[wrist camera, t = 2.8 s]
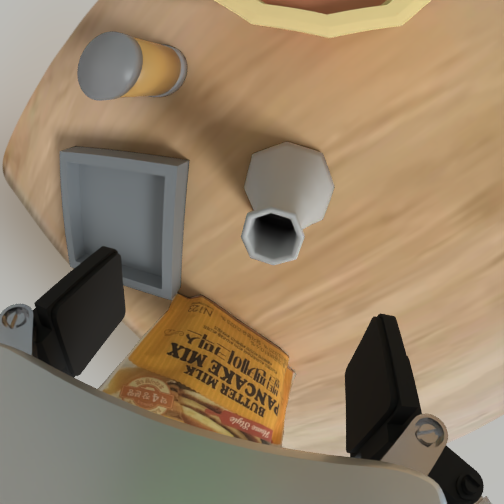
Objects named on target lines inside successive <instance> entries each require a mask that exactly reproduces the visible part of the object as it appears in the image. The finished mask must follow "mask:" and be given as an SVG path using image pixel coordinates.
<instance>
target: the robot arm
mask: <svg viewBox="0 0 504 504" xmlns="http://www.w3.org/2000/svg"><path fill="white" fill-rule="evenodd" d="M35 306H36V308H35V309H34V310H31V308H30V307H29V306H27V305H25V304H15V305H11V306H9V307H7V308H6V309H5V310H3V311H2V313H1V314H0V504H491V502H490V501H489V499H488V498H487V496H486V497H484V498H483V497H482V496H481V495H482V492H483V481H482V478H481V476H480V475H479V473H478V472H477V471H476V470H474V469H473V468H472V467H471V466H470V465H468V464H467V463H466V462H465V461H464V460H463V459H461V458H460V457H459V456H458V455H457V454H455V453H454V452H453V451H452V450H451V449H450V448H448V447H447V446H446V443H447V440H448V432H447V429H446V427H445V425H444V423H443V422H442V421H441V420H440V419H439V418H437V417H436V416H434V415H431V414H422V412H421V407H420V403H419V398H418V394H417V389H416V385H415V381H414V377H413V373H412V369H411V365H410V361H409V358H408V356H406V352H405V348H404V345H403V341H402V337H401V334H400V330H399V327H398V324H397V320H396V318H395V317H394V316H390V315H385V314H379V315H378V316H377V317H373V318H372V320H371V322H370V324H369V326H368V328H367V330H366V332H365V334H364V336H363V338H362V340H361V342H360V344H359V346H358V348H357V349H356V351H355V353H354V355H353V357H352V359H351V361H350V363H349V364H348V366H347V368H346V372H345V393H346V451H347V453H350V457H343V456H334V455H326V454H319V453H312V452H305V451H299V450H293V449H287V448H281V447H276V446H271V445H266V444H261V443H256V442H252V441H247V440H243V439H239V438H235V437H231V436H227V435H223V434H219V433H216V432H212V431H209V430H205V429H202V428H198V427H195V426H192V425H189V424H185V423H182V422H179V421H176V420H173V419H170V418H167V417H165V416H162V415H159V414H156V413H153V412H151V411H148V410H146V409H143V408H140V407H138V406H135V405H133V404H130V403H128V402H125V401H123V400H121V399H118V398H116V397H114V396H111V395H109V394H107V393H105V392H102V391H100V390H98V389H96V388H93V387H92V386H90V385H87V384H85V383H83V382H81V381H79V380H77V379H75V378H74V377H75V376H78V375H80V374H81V372H82V371H83V370H84V369H85V367H86V366H87V365H88V363H89V362H90V361H91V359H92V358H93V357H94V355H95V354H96V353H97V351H98V350H99V349H100V347H101V346H102V345H103V343H104V342H105V341H106V340H107V338H108V337H109V336H110V334H111V333H112V332H113V331H114V329H115V328H116V327H117V326H118V324H119V323H120V322H121V321H122V319H123V318H124V316H125V300H124V289H123V277H122V261H121V255H120V254H118V251H117V250H116V249H113V248H109V247H106V246H102V247H100V248H99V249H98V250H97V251H95V252H94V253H93V254H92V255H90V256H89V257H88V258H87V259H85V260H84V261H83V262H82V263H80V264H79V265H78V266H77V267H76V268H74V269H73V270H72V271H71V272H70V273H68V274H67V275H66V276H65V277H64V278H62V279H61V280H60V281H59V282H58V283H57V284H55V285H54V286H53V287H52V288H51V289H50V290H49V291H47V293H45V294H44V295H43V296H42V297H41V298H40V299H38V300H37V301H36V302H35Z"/></svg>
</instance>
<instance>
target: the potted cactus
mask: <svg viewBox="0 0 504 504" xmlns="http://www.w3.org/2000/svg"><path fill="white" fill-rule="evenodd" d="M214 1H216V2H217V3H219V4H221V5H222V6H224V7H226V8H227V9H229V10H231V11H232V12H234V13H235V14H237V15H238V16H240V17H241V18H243V19H245V20H246V21H248V22H249V23H251V24H253V25H258V26H264V27H272V28H278V29H285V30H290V31H296V32H301V33H306V34H311V35H316V36H320V37H325V38H332V37H337V36H342V35H347V34H352V33H357V32H363V31H368V30H375V29H381V28H389V27H397V26H402V25H404V24H405V23H406V22H407V21H408V20H409V19H410V18H411V17H413V16H414V15H415V14H416V13H417V12H418V11H420V10H421V9H422V8H423V7H424V6H425V5H427V4H428V3H429V2H430V1H431V0H214Z"/></svg>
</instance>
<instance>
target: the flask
mask: <svg viewBox="0 0 504 504" xmlns="http://www.w3.org/2000/svg"><path fill="white" fill-rule="evenodd" d="M334 188H335V187H334V184H333V181H332V178H331V175H330V172H329V169H328V166H327V163H326V160H325V158H324V155H323V153H322V152H319V151H316V150H313V149H310V148H306V147H303V146H300V145H297V144H294V143H290V142H287V141H286V142H284V143H281V144H278V145H275V146H272V147H270V148H267V149H264V150H261V151H259V152H256V153H253V154H252V157H251V161H250V165H249V169H248V173H247V177H246V181H245V185H244V189H245V191H246V194H247V196H248V198H249V201H250V203H251V205H252V208H253V210H254V211H251V212H249V213H247V216H246V220H245V223H244V227H243V231H242V235H241V238H242V240H243V243H244V245H245V247H246V249H247V251H248V254H249V256H250V258H252V259H255V260H258V261H262V262H265V263H268V264H271V265H276V264H280V263H284V262H288V261H291V260H295V259H297V256H298V253H299V250H300V248H301V245H302V242H303V240H304V233H303V230H302V229H304V228H306V227H308V226H309V225H311V224H313V223H316V222H318V221H321V220H323V218H324V215H325V212H326V210H327V207H328V204H329V202H330V199H331V196H332V193H333V190H334Z"/></svg>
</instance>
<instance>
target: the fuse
mask: <svg viewBox="0 0 504 504" xmlns="http://www.w3.org/2000/svg"><path fill="white" fill-rule="evenodd" d="M186 74H187V62H186V59H185V57H184V55H183V54H182V52H181V51H179V50H178V49H176V48H174V47H171V46H168V45H162V44H157V43H153V42H149V41H146V40H142V39H138V38H134V37H132V36H130V35H127V34H123V33H119V32H106V33H103V34H101V35H99V36H97V37H96V38H94V39H93V40H92V41H91V42H90V43H89V44H88V45H87V47H86V48H85V50H84V51H83V53H82V55H81V58H80V60H79V64H78V81H79V85H80V87H81V89H82V91H83V92H84V94H85V95H87V96H88V97H89V98H91V99H94V100H111V99H117V98H119V97H136V96H149V97H164V96H168V95H170V94H172V93H174V92H175V91H176V90H178V89H179V88H180V86H181V85H182V84H183V82H184V80H185V78H186Z"/></svg>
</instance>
